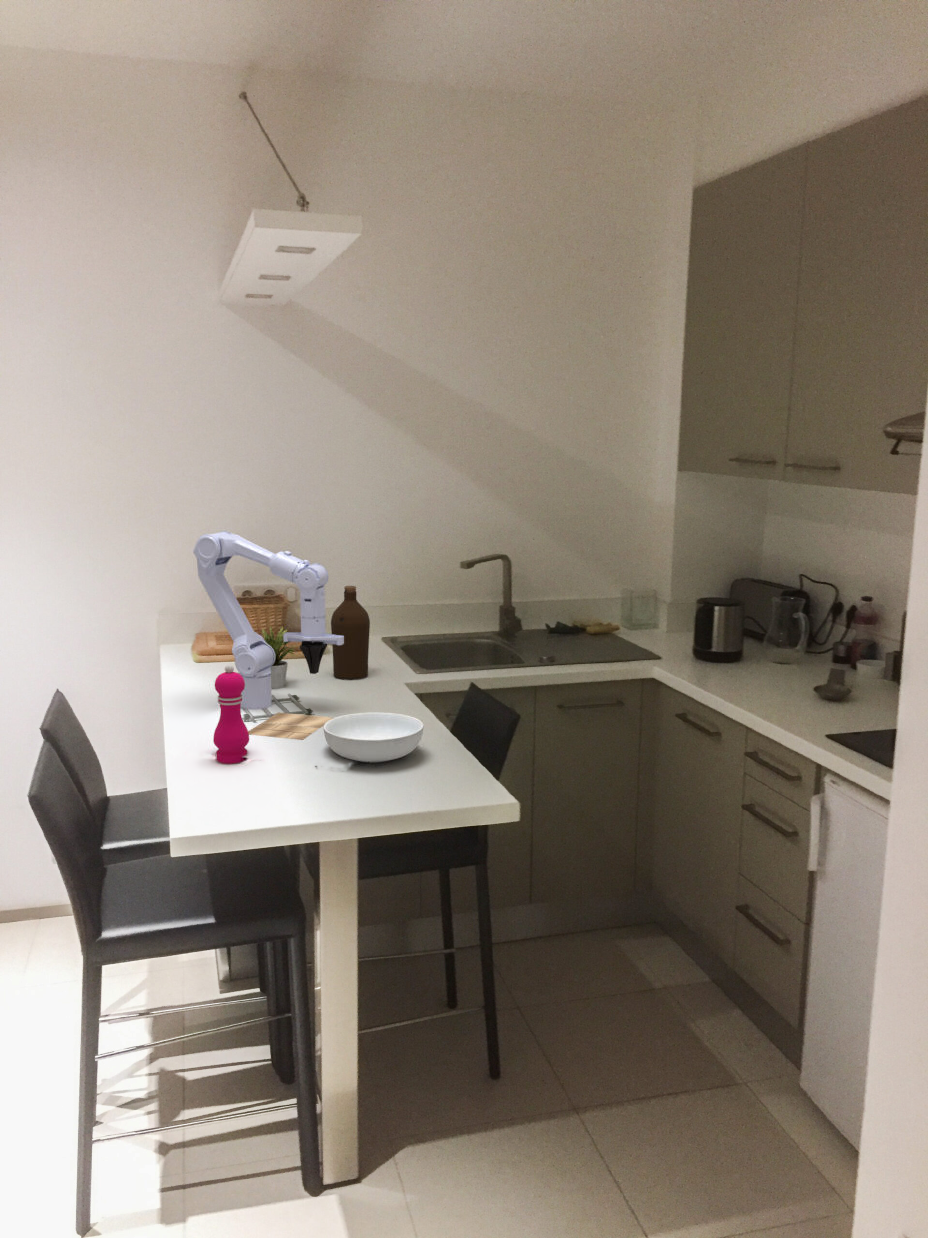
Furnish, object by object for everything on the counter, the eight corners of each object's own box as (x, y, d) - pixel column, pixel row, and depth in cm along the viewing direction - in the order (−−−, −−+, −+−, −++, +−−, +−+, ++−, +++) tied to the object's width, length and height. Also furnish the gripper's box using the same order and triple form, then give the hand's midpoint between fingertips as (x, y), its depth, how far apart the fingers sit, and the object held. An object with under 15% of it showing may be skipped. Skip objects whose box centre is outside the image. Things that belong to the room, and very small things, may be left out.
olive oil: (371, 680, 276) (371, 589, 271) (332, 681, 274) (331, 589, 269) (368, 671, 286) (368, 583, 281) (330, 671, 284) (329, 583, 280)
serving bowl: (433, 745, 221) (433, 714, 219) (408, 776, 200) (409, 743, 199) (342, 737, 225) (342, 707, 223) (309, 768, 205) (308, 735, 203)
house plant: (297, 694, 259) (296, 632, 256) (243, 693, 260) (241, 631, 257) (306, 681, 273) (305, 621, 270) (255, 680, 274) (254, 620, 271)
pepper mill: (218, 766, 204) (215, 670, 201) (210, 756, 211) (207, 662, 207) (254, 761, 208) (251, 666, 204) (244, 751, 214) (242, 659, 210)
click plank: (263, 727, 231) (262, 722, 231) (278, 717, 239) (278, 712, 239) (320, 733, 228) (319, 727, 227) (333, 722, 235) (333, 717, 235)
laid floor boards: (243, 739, 222) (243, 733, 222) (262, 727, 231) (262, 722, 231) (302, 745, 219) (302, 739, 219) (319, 733, 227) (319, 728, 227)
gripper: (277, 617, 235) (278, 674, 238) (335, 621, 231) (336, 678, 234) (290, 612, 242) (291, 667, 244) (346, 615, 238) (347, 672, 240)
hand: (314, 672), depth 239 cm, fingers closed
